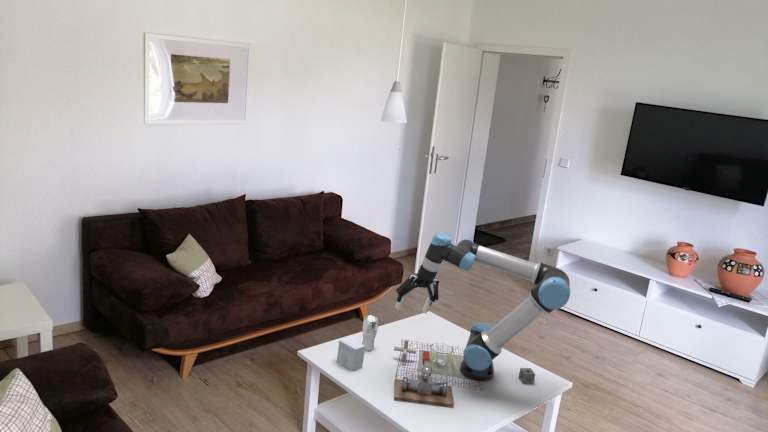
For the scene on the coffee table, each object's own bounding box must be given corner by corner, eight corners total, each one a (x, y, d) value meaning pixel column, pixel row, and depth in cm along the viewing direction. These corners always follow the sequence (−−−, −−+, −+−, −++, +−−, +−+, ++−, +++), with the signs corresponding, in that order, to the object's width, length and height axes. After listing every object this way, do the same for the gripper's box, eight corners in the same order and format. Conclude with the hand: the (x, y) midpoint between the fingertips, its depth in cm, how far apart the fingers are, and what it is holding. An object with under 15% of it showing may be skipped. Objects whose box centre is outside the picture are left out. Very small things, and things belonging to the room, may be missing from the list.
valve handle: (429, 357, 265) (430, 351, 264) (430, 377, 249) (432, 370, 249) (420, 356, 265) (421, 350, 264) (422, 376, 249) (423, 369, 249)
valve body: (444, 391, 256) (447, 374, 254) (445, 398, 251) (448, 381, 249) (401, 386, 256) (404, 368, 254) (401, 393, 251) (404, 375, 249)
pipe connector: (415, 356, 284) (418, 336, 281) (413, 367, 275) (417, 346, 272) (393, 352, 285) (396, 333, 282) (391, 363, 275) (394, 343, 273)
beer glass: (360, 343, 290) (364, 314, 286) (375, 345, 290) (379, 316, 286) (359, 350, 283) (363, 320, 279) (374, 352, 283) (378, 322, 279)
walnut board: (450, 388, 260) (451, 385, 260) (453, 407, 247) (453, 404, 247) (394, 381, 260) (394, 378, 260) (394, 400, 247) (394, 396, 246)
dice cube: (522, 383, 272) (524, 373, 271) (518, 377, 277) (520, 367, 276) (533, 384, 273) (535, 374, 272) (528, 378, 278) (530, 368, 277)
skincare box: (363, 367, 269) (365, 345, 266) (352, 371, 264) (355, 349, 261) (346, 357, 276) (349, 336, 273) (336, 361, 271) (338, 339, 268)
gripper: (450, 267, 266) (431, 308, 273) (400, 258, 255) (382, 301, 262) (457, 276, 260) (438, 318, 267) (407, 267, 249) (388, 311, 255)
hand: (410, 310), depth 264 cm, fingers open, 13 cm apart
